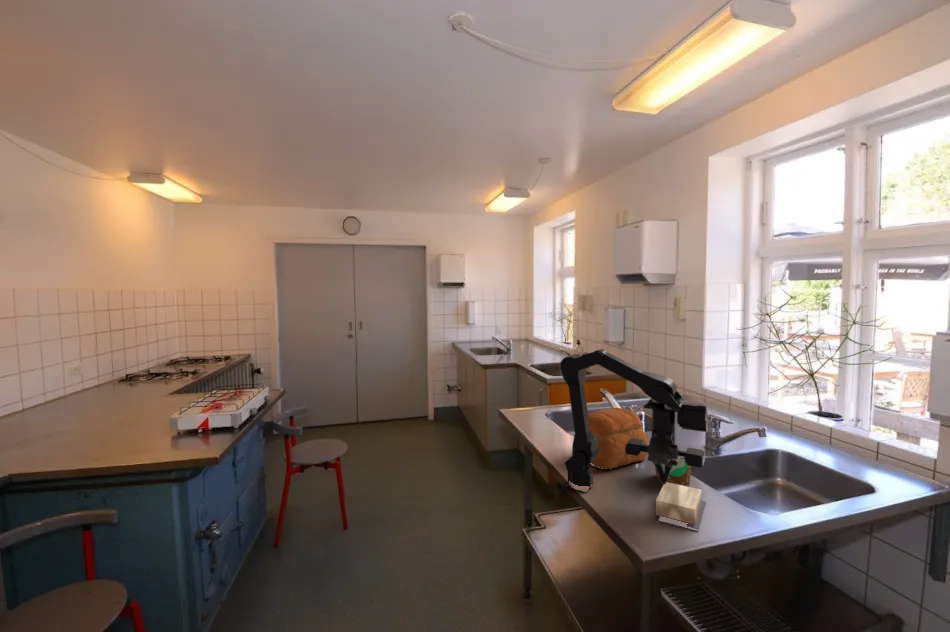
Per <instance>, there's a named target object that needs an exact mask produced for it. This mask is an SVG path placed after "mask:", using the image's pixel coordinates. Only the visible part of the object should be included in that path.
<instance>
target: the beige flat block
mask: <svg viewBox="0 0 950 632" xmlns="http://www.w3.org/2000/svg"><path fill="white" fill-rule="evenodd" d="M662 485H663V486H662V487H661V489H660V492H659V493H658V495H657V497H656V500H655V515H656V516H657V515H659V516H662V517H666V518H670V519H673V520H677V521H681V522H684V523H688V524H692V525H696V522H697V518H698V515H699V511H700V508H701V504H702V501H703V500H702V495H703V494H702V489H700V488H696V487H690V486H688V485H687V486H682V485H678V484H673V483H668V482H666V484H662ZM659 516H658V517H659Z"/></svg>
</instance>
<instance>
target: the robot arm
mask: <svg viewBox="0 0 950 632" xmlns="http://www.w3.org/2000/svg"><path fill="white" fill-rule="evenodd" d="M596 365H599V366H601V367H602V368H604V369H606V370H608V371H610V372H612V373H614V374H615V375H617V376H619V377H621V378H623V379H625V380H626V381H628V382H630V383H632V384H634V385H636V386H637V387H638V388H639V389H640V390H641V391H642V392H643V393H644V394H645V395H647V396H648V397H650V399H649V400H648V402H646V403H645V404H644V405H643V409H650V410H651V437H650V439H649V442H648V445H645V441H644V440H639V439H633V438H632V439H630V440H629V441H628V443H627V444H626V446H625V453H626V454H630V455H635V456H637V455H638V454H640V451H642V452H648V454H647V461H649V462H651V463H652V464H653V465H654V467H656V469H657V471H658V473H659V476H660V479H661V481H662V485H664V484H666V482H667V479H668V477H669V474H670V471H671V468H672V467H673V465H674V466H677V465H678V464H679V461H680V459H685V462H686V463H687V465H689V466H691V467H695V468H703V467H704V463H705V461H706V452H705V451H704V450H703V449H700V448H694V447H687V449H686V451H685V450H679V446H678V444H677V441H676V440H677V439H676V436H677V435H676V433H677V432H676V421H677V425H679V428H681V429H682V430H687V431H695V432H701V433H708V431H709V421H710V420H709V415H708V407H707V406H708V405H707V404H704V403H698V404H697V403H688V402H686V400H685V399H684V398H683V396H682V395H681V393H679V391H678V390H677V385H676V382H675V381H674V380H673V379H672V378H669V377H667V376H664V375H661V374H657V373H652V372H649V371H645V370H643V369H641V368H640V367H637V366H635V365H633V364H632V363H630V362H627V361H625V360H624V359H622V358H620V357H619V356H616V355H614V354H612V353H610V352H608V351H607V350H606V349H604V348H598V349H596V350H594V351H592V352H588V353H585V354H579V353H573V354H571V355H568V356H566V357H564V358H562V359H561V361H560V362H559V369H560V372H561V375H562V378H563V380H564V382H565V383H566V385H567V388H568V392H569V393H568V394H569V401H570V408H571V416H572V423H573V424H572V425H573V430H574V436H573V441H572V446H571V447H572V450H571V456H570V457H569V458H568V459H566V461H565V462H564V465H565V469H566V470H567V484H565V488H566V489H569V490H570V489H571V487H570V486H569V485H568V482H569V481H570V482H571V483H573V484H575V485H578V486H589V487H590V486H591V485H592V484H593V485H594V472H593V471H592V466H591V465H589V464H590V463H591V462H592V461H593V460H594V459H595V458H596V457H597V455H598V453H599V450H600V447H599V443H598V442H599V438H598V436H597V437H594V436H593V435H592V433H591V431H590V425H589V417H588V413H589V411H588V404H587V398H586V389H585V380H586V376H587V368H590V367H592V366H596ZM664 464H665V471H664ZM656 469H655V470H656ZM571 490H572V489H571Z"/></svg>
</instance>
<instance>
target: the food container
mask: <svg viewBox="0 0 950 632" xmlns="http://www.w3.org/2000/svg"><path fill="white" fill-rule="evenodd" d="M654 467H655V466H654ZM664 471H665V464H664ZM691 473H692V466H689V465H687V463H686V462H685V459H680V461H679V464H678V465H677V466H674V465H673V467H672V468H671V471H670V474H669V477H668V479H667V482H668V483H673V484H678V485H682V486H686V485H687V486H689V485H690V481H691V475H692V474H691ZM655 476H656V477H655V478H656V480H657V479H658V480H659V481H658V480H657V481H658V482H660V483H661V482H662V481H661V479H660V476H659V473H658V471H657V469H656V467H655ZM688 484H689V485H688Z"/></svg>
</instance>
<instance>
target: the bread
mask: <svg viewBox="0 0 950 632" xmlns="http://www.w3.org/2000/svg"><path fill="white" fill-rule="evenodd" d="M588 417H589V425H590V431H591V433H592V435H593V436H594V437H597V436H598V438H599V442H598V443H599V447H600V450H599V453H598V455H597V457H596V458H595V459H594V460H593V461H592V462H591V463H592V464H594V465H595V466H598V467H600V468H603V469H610V470H613V468H615V469H616V468H619V467H623V465H624V466H626V465H629V464H630V463H637V462H641V461H644V460H646V458H647V457H648V452H642V451H640V454H638V455H637V456H635V455H630V454H626V453H625V446H626V444H627V443H628V441H629V440H630V439H632V438H633V439H639V440H644V441H645V445H649V440H648V437H647V434H646V433H645V431H644V430H643V428H642V427H643V424H642V420H641V419H640V417H639V416H638V415H637V414H636V413H635V412H633V411H631V410H629V409H625V408H621V407H612V408H608V409H607V408H605V409H601V410H599V409H598V410H596V411H593V412H588ZM603 469H602V470H603Z"/></svg>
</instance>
